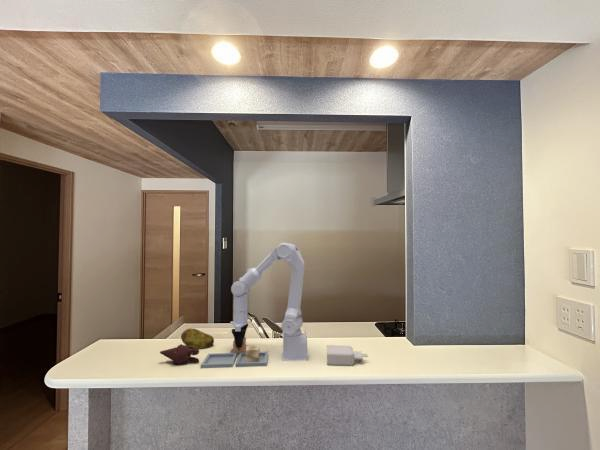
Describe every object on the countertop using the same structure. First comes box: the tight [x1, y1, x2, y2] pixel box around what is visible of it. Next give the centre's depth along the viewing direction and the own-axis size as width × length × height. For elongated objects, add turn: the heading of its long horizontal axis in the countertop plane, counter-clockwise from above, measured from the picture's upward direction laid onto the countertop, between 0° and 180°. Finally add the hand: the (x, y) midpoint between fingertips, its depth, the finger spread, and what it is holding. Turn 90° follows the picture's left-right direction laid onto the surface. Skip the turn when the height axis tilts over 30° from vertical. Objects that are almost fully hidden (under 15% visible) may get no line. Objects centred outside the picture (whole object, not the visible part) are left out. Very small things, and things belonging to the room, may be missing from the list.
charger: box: [326, 344, 369, 367], centre depth 106 cm, size 5×9×15 cm
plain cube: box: [246, 345, 260, 362], centre depth 106 cm, size 4×4×4 cm
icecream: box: [159, 343, 200, 365], centre depth 105 cm, size 7×7×15 cm
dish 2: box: [234, 351, 269, 368], centre depth 106 cm, size 11×11×2 cm
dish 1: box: [200, 352, 238, 369], centre depth 105 cm, size 11×11×2 cm
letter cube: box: [232, 337, 247, 353], centre depth 116 cm, size 4×5×5 cm
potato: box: [180, 328, 215, 350], centre depth 122 cm, size 8×13×8 cm, turn 83°
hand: (240, 344), depth 116 cm, fingers open, 5 cm apart
